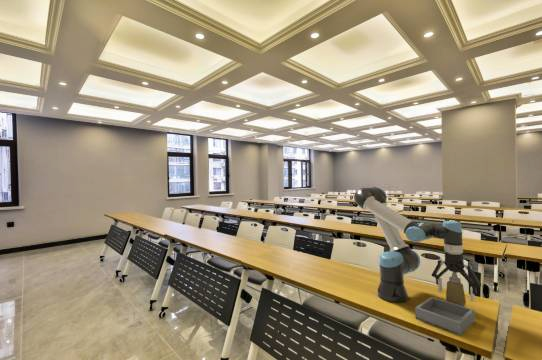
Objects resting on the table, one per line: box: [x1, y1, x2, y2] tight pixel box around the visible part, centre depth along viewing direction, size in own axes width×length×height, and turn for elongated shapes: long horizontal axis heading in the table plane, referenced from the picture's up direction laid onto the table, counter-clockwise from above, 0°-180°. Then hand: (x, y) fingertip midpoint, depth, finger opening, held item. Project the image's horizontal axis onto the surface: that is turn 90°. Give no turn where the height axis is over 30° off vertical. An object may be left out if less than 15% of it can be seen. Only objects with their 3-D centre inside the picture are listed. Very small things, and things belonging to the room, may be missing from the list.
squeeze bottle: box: [445, 272, 467, 307], centre depth 126 cm, size 8×8×18 cm
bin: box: [414, 296, 476, 337], centre depth 116 cm, size 17×17×5 cm
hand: (455, 295), depth 126 cm, fingers open, 13 cm apart
